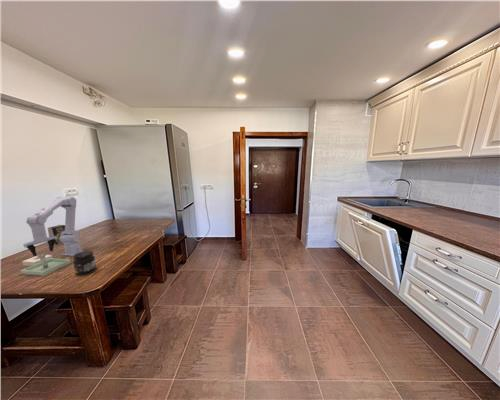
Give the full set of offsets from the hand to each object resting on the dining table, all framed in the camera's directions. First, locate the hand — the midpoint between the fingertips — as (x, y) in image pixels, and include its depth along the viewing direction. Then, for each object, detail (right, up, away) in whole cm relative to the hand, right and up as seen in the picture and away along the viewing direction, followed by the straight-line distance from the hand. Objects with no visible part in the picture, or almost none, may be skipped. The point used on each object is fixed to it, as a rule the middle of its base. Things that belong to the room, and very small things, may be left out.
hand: (43, 253), depth 120 cm
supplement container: (+30, -11, -2) cm, 32 cm away
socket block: (-14, -9, +9) cm, 19 cm away
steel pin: (0, -10, +2) cm, 10 cm away
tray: (+1, -10, +1) cm, 10 cm away
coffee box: (-31, -4, +40) cm, 51 cm away
